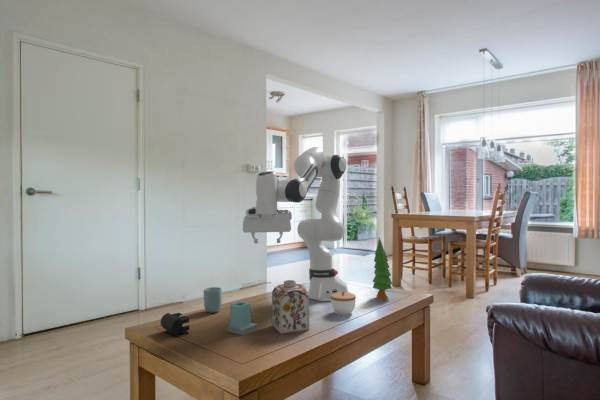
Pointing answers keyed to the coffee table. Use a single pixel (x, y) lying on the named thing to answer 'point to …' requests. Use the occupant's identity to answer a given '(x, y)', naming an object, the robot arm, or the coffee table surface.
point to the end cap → (175, 323)
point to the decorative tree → (381, 272)
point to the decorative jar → (290, 307)
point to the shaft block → (242, 329)
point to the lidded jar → (343, 303)
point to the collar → (240, 314)
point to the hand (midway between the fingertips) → (267, 243)
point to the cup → (212, 299)
